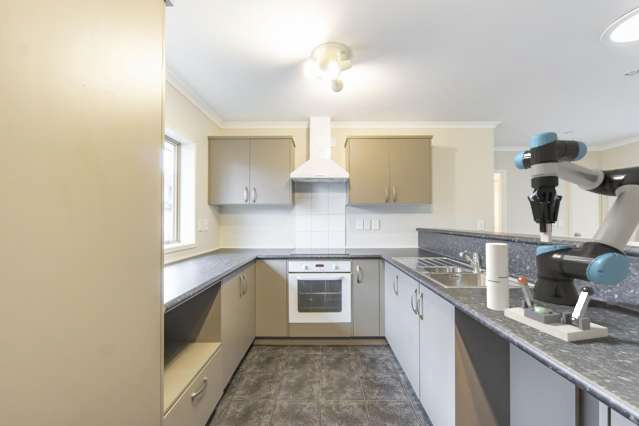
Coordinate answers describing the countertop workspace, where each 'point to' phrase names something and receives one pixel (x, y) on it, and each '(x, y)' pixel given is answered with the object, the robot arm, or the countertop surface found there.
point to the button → (542, 310)
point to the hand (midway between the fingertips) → (546, 241)
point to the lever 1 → (526, 292)
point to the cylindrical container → (497, 276)
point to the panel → (556, 323)
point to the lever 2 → (581, 306)
